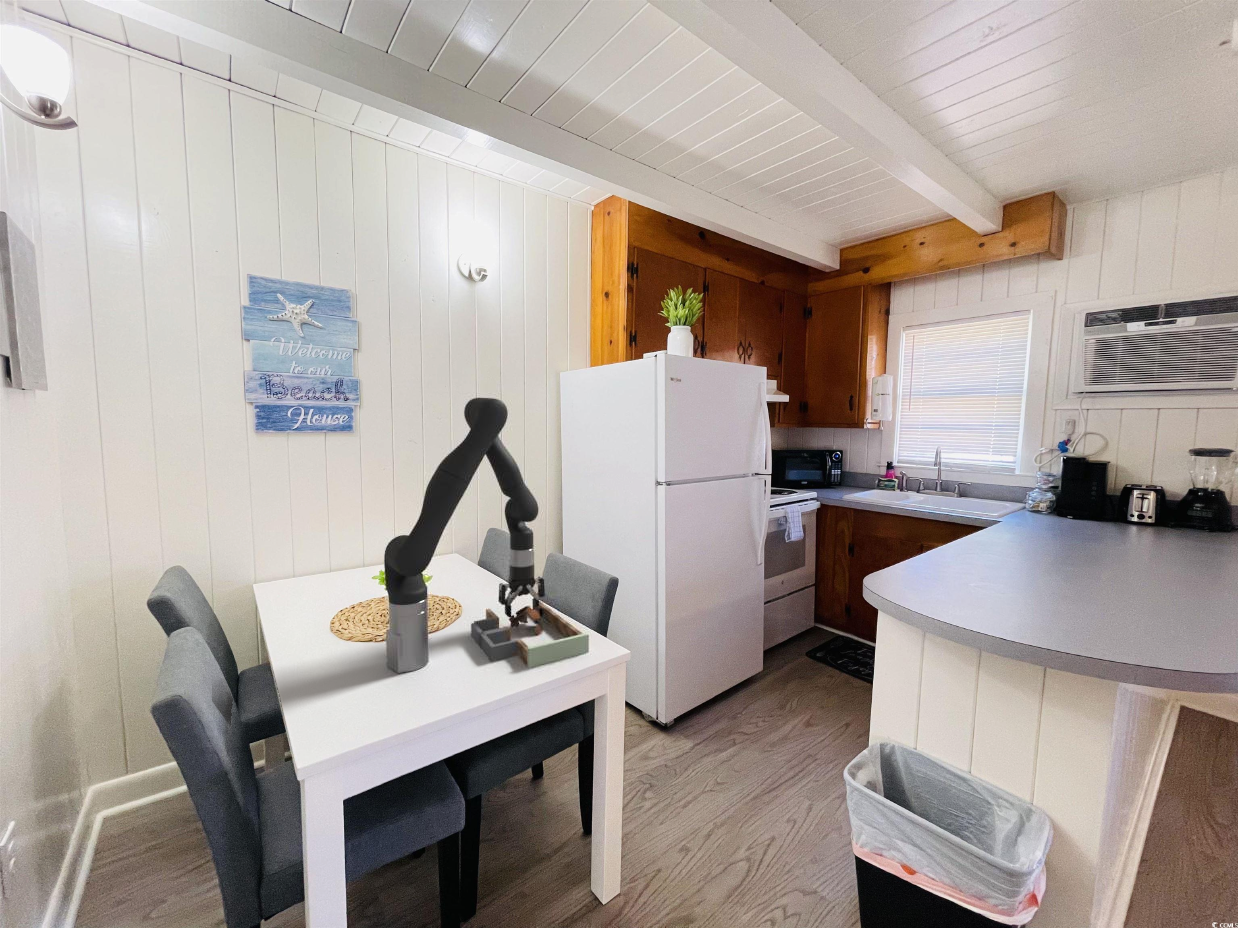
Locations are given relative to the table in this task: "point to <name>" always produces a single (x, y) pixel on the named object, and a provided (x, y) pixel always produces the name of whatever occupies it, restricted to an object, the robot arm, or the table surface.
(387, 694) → the table surface
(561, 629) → the walnut track
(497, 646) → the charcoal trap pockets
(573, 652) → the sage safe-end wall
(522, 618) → the brown black figurine
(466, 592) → the table surface
